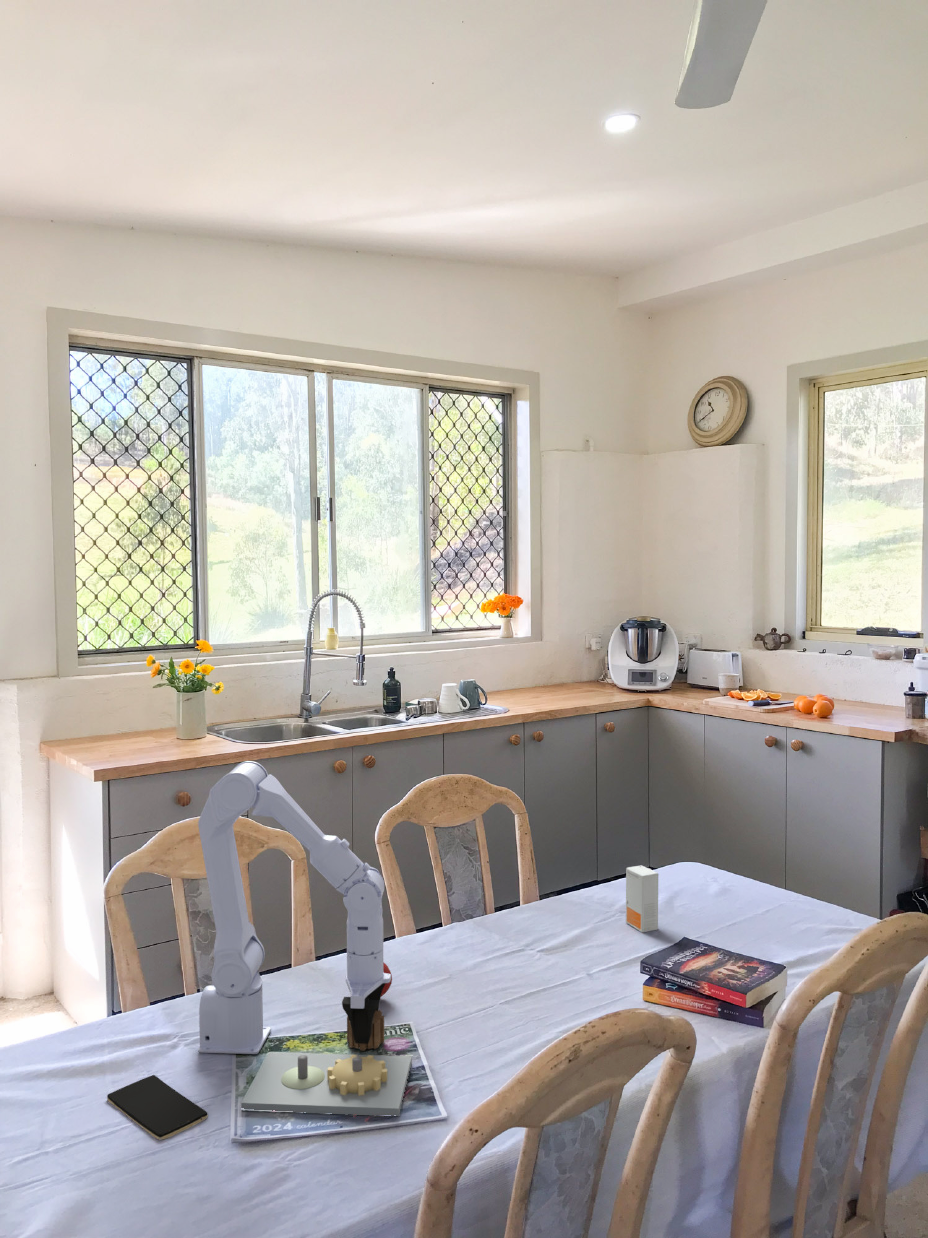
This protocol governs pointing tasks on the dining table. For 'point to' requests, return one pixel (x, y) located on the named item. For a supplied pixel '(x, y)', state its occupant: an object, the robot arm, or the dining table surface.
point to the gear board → (329, 1083)
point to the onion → (387, 985)
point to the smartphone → (157, 1107)
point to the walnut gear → (376, 1033)
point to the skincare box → (642, 898)
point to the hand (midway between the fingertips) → (365, 1032)
